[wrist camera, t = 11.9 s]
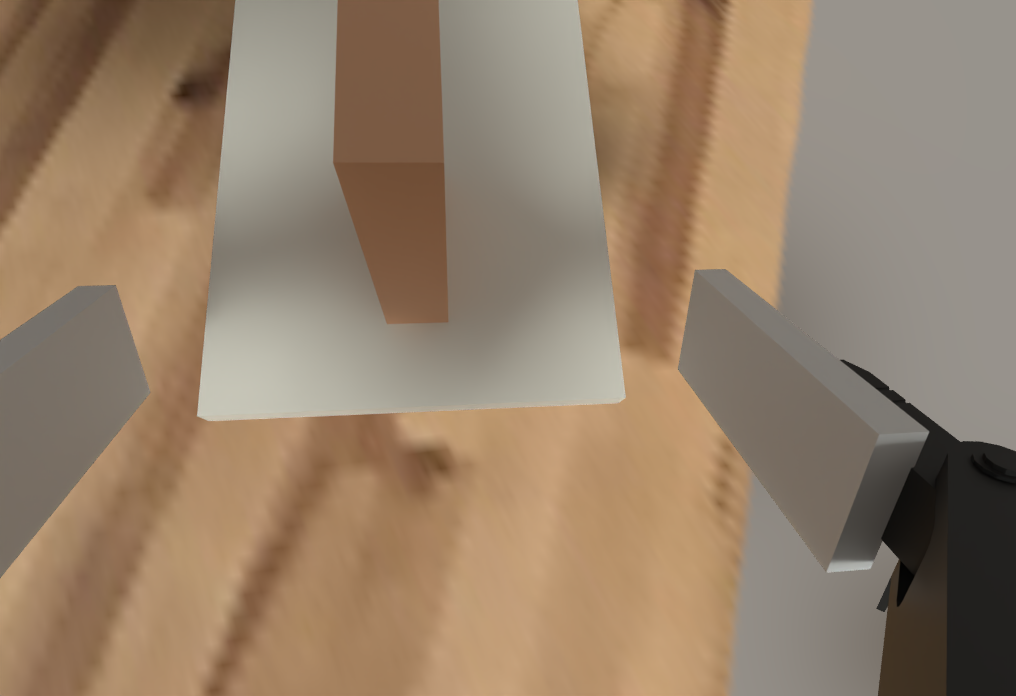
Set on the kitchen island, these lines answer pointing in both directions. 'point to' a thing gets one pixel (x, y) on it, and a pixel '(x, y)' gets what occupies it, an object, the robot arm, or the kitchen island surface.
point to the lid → (407, 213)
